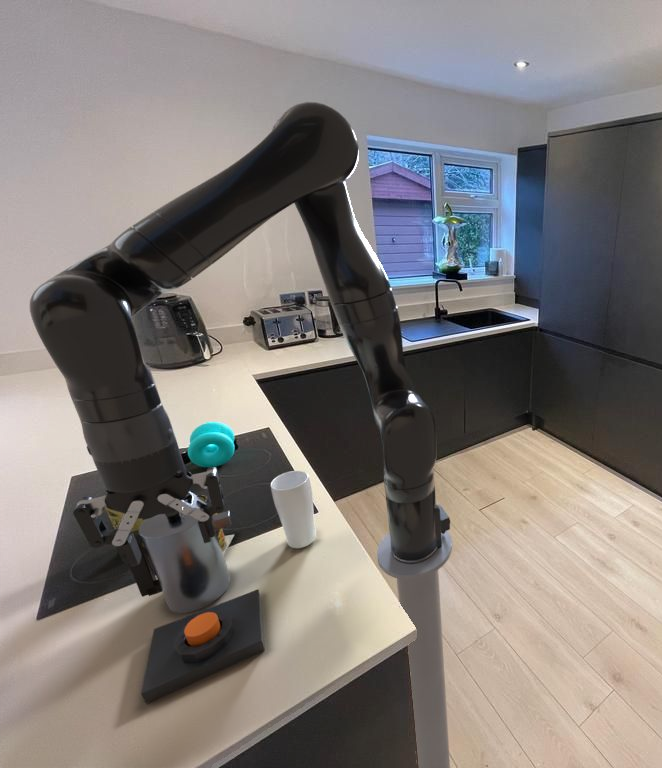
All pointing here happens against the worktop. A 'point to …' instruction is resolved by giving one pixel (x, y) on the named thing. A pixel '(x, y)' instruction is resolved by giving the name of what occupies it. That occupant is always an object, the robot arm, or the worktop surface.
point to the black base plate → (203, 647)
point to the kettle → (181, 561)
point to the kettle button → (202, 629)
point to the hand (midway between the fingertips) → (173, 549)
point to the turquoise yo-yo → (211, 444)
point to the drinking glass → (295, 507)
